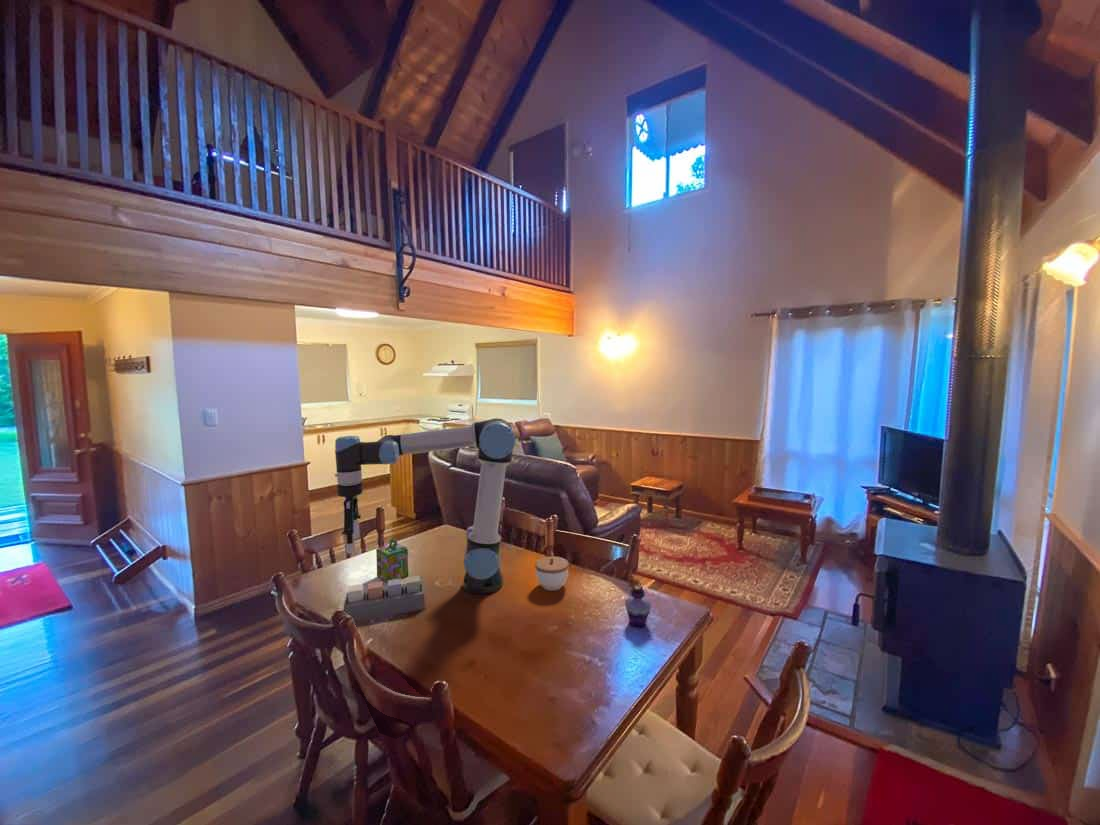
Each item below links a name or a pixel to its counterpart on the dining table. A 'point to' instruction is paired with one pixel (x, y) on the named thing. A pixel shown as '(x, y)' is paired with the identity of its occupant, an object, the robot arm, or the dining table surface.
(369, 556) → the dining table surface
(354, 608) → the console
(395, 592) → the slate key
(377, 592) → the terracotta key
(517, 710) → the dining table surface
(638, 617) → the potion bottle
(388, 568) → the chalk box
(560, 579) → the lidded bowl
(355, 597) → the ivory key
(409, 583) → the sage key
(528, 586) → the dining table surface
